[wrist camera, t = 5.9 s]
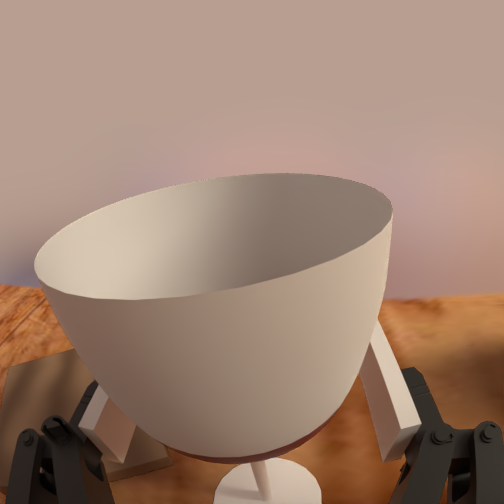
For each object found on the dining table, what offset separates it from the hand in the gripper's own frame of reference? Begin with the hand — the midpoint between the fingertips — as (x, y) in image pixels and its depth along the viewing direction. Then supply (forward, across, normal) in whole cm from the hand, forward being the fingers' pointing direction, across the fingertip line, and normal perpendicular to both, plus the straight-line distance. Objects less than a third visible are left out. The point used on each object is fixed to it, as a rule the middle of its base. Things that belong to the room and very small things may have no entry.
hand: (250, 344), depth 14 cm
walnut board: (+2, -20, -12) cm, 23 cm away
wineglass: (-4, 0, -12) cm, 13 cm away
